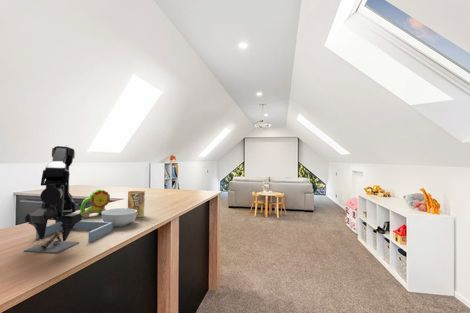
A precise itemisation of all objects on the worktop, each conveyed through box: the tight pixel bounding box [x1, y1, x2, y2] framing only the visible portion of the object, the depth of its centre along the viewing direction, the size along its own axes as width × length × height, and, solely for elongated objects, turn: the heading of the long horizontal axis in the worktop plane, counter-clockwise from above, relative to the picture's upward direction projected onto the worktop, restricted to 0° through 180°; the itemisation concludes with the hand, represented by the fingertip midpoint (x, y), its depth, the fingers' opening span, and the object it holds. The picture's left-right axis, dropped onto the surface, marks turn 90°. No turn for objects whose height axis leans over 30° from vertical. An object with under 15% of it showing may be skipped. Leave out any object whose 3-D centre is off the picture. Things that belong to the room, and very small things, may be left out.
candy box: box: [127, 190, 146, 218], centre depth 145 cm, size 9×4×15 cm, turn 103°
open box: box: [35, 220, 114, 243], centre depth 109 cm, size 24×16×4 cm, turn 86°
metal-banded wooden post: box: [41, 231, 62, 250], centre depth 93 cm, size 2×8×4 cm, turn 176°
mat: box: [23, 240, 80, 254], centre depth 93 cm, size 13×11×1 cm
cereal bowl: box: [101, 207, 137, 227], centre depth 127 cm, size 17×17×7 cm
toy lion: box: [78, 189, 111, 219], centre depth 145 cm, size 16×6×15 cm, turn 144°
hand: (53, 240), depth 93 cm, fingers open, 9 cm apart
